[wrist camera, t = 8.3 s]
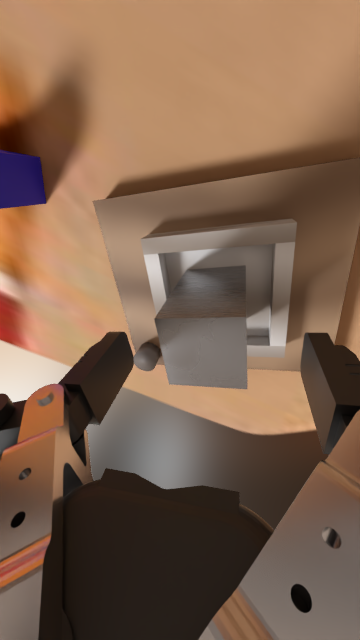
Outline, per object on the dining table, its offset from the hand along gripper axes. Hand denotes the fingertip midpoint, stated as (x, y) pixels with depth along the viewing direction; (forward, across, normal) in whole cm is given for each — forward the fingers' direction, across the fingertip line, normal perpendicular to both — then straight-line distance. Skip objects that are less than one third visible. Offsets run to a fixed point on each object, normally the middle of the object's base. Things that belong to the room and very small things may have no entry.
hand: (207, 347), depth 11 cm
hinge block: (+7, 0, 0) cm, 7 cm away
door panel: (+9, 0, 0) cm, 9 cm away
